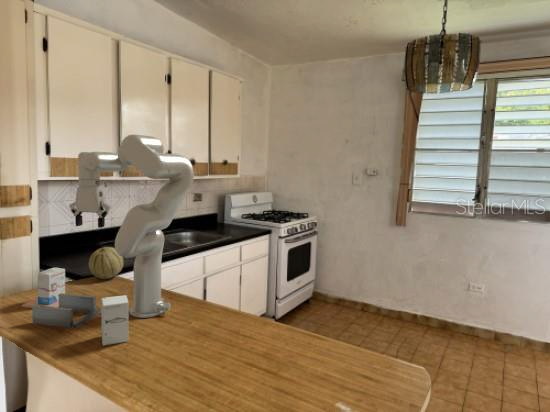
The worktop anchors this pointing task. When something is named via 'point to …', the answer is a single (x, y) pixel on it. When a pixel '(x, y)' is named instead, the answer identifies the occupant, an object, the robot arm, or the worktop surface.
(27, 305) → the plate
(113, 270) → the cantaloupe
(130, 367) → the worktop surface
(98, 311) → the grey frame rack
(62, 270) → the ink box
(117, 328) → the supplement box
